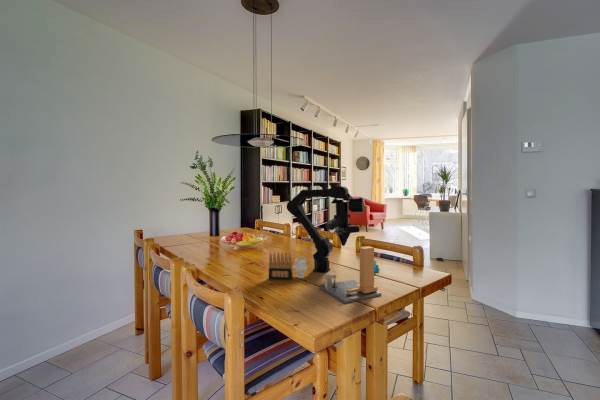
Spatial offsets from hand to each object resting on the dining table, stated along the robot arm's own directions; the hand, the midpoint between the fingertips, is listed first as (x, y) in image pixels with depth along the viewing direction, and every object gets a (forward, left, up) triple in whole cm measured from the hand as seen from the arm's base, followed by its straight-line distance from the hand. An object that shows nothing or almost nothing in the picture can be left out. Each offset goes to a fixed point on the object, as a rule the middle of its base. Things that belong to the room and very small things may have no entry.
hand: (343, 245), depth 137 cm
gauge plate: (+13, -21, -13) cm, 28 cm away
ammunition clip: (-20, -23, -13) cm, 33 cm away
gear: (+10, +10, -13) cm, 19 cm away
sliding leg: (+18, -22, -12) cm, 30 cm away
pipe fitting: (-14, -16, -13) cm, 25 cm away
